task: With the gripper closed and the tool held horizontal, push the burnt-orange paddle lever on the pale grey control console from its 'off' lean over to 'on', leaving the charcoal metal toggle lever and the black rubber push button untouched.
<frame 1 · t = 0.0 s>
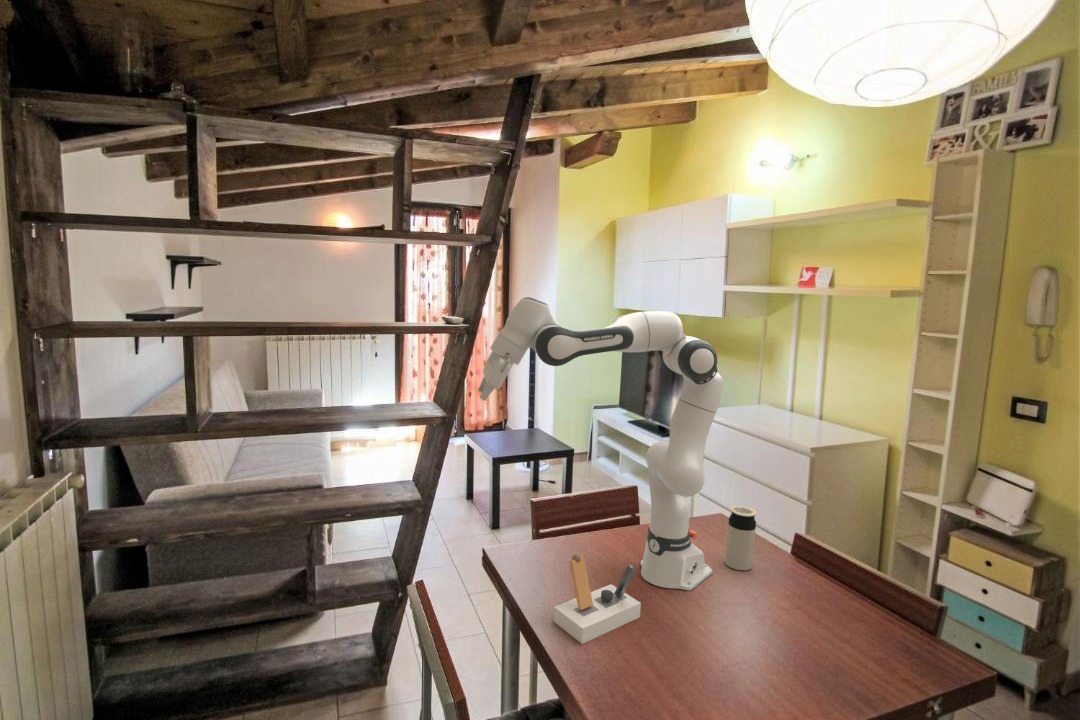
hand: (481, 395, 156), 54 cm above the table, tool tilted 30°, fingers open, 8 cm apart
push button: (606, 595, 150), point 6 cm above the table, slide at 0.0 cm
travel mug: (738, 565, 181), on the table
paddle lever: (580, 580, 147), point 11 cm above the table, hinge at -22.0°
toggle lever: (625, 580, 150), point 10 cm above the table, hinge at 22.0°
console: (597, 619, 149), on the table
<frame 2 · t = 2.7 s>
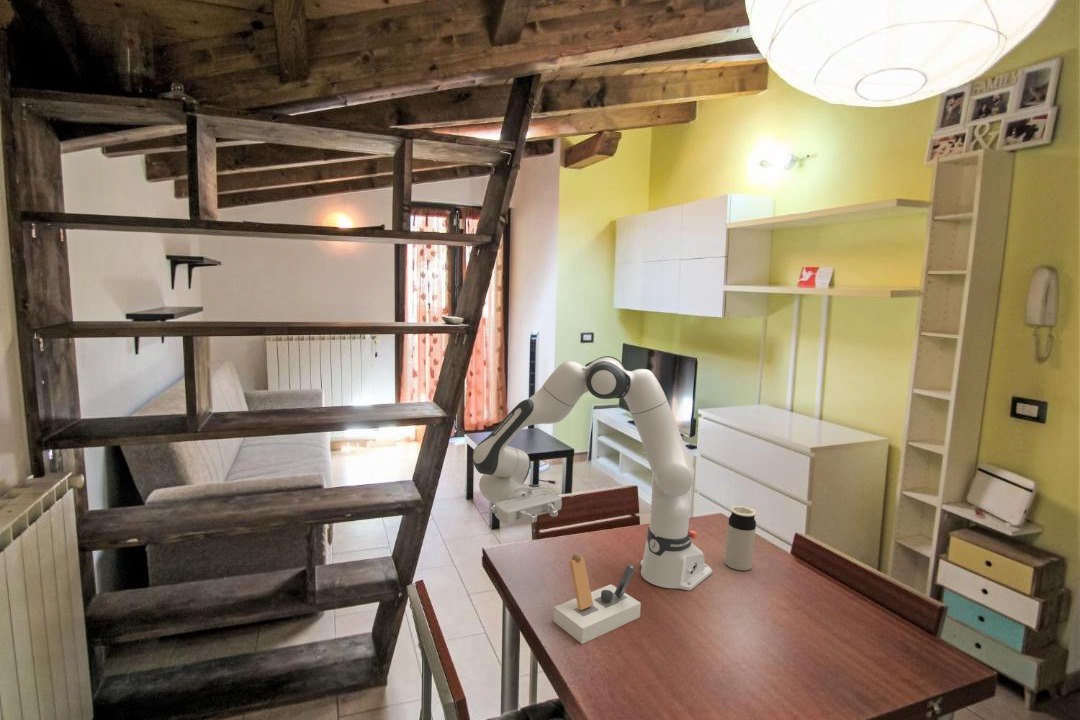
hand: (545, 516, 158), 22 cm above the table, tool horizontal, fingers open, 6 cm apart
nothing on the table moved.
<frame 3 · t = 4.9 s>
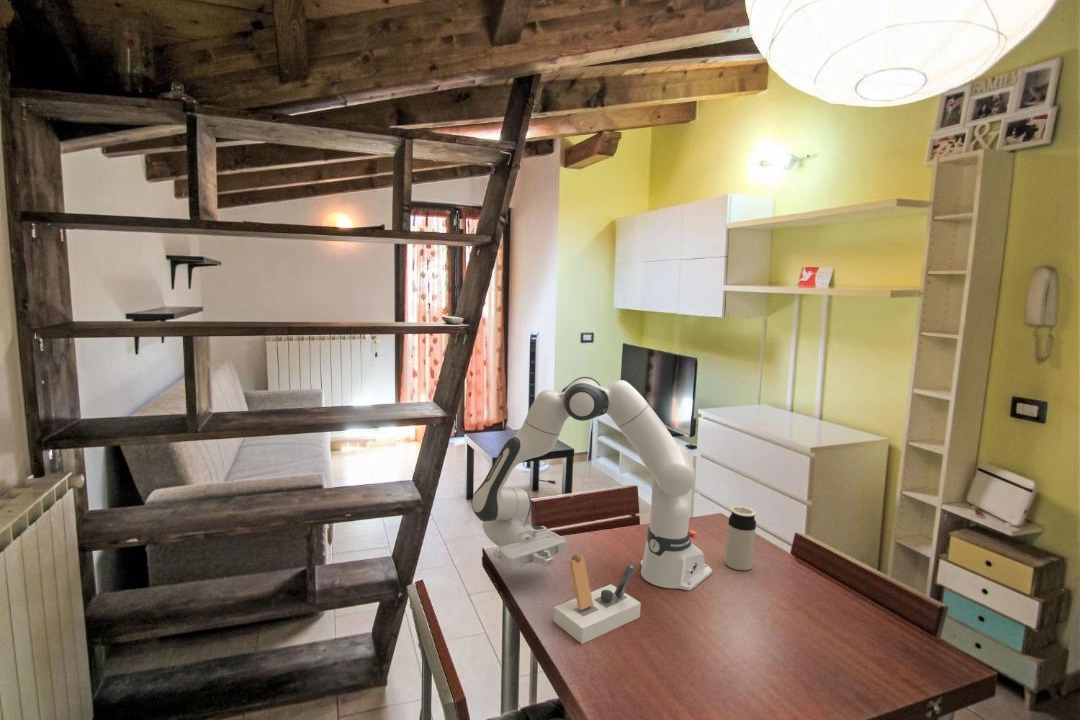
hand: (549, 562, 157), 10 cm above the table, tool horizontal, fingers closed
nothing on the table moved.
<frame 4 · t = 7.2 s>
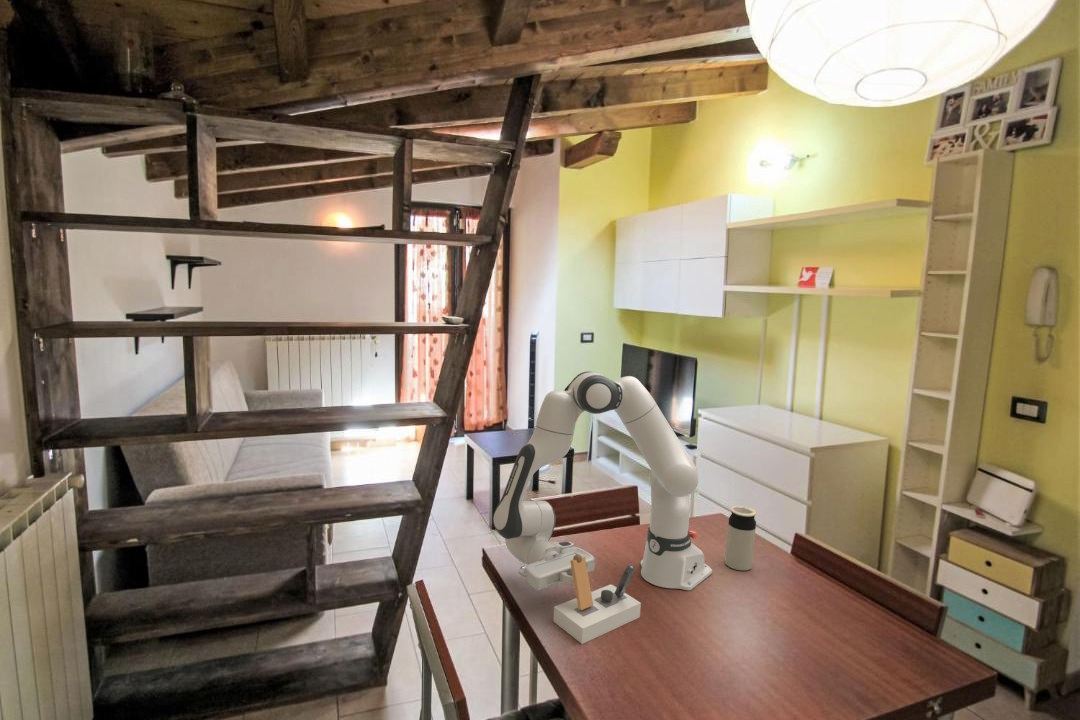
hand: (579, 582, 148), 10 cm above the table, tool horizontal, fingers closed, pressing on paddle lever
paddle lever: (581, 580, 147), point 11 cm above the table, hinge at -19.7°, touching gripper
everything else where it was.
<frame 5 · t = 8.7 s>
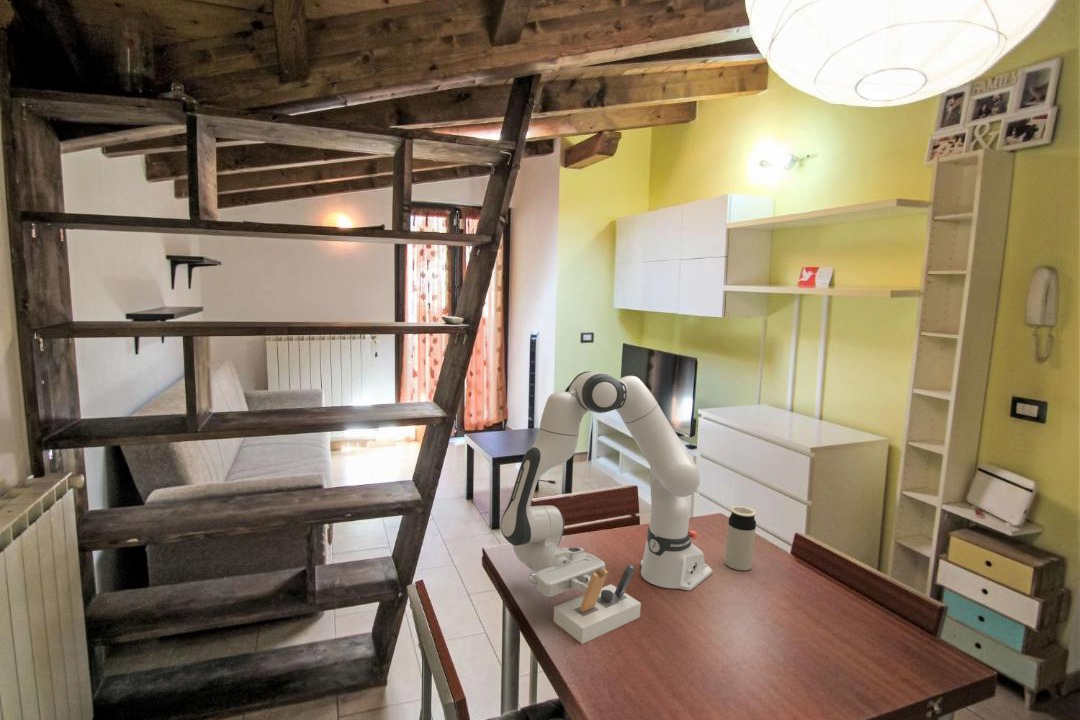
hand: (591, 588, 144), 10 cm above the table, tool horizontal, fingers closed, pressing on paddle lever
paddle lever: (594, 589, 143), point 11 cm above the table, hinge at 19.5°, touching gripper
everything else where it was.
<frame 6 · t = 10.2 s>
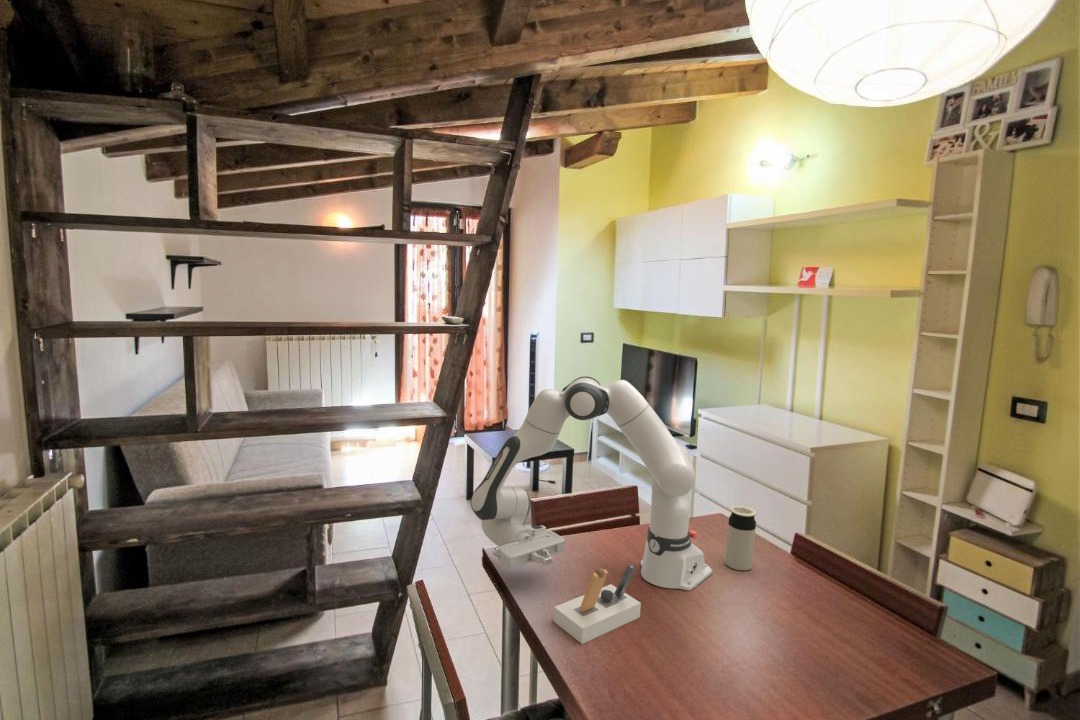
hand: (548, 561, 157), 10 cm above the table, tool horizontal, fingers closed
paddle lever: (594, 589, 143), point 11 cm above the table, hinge at 19.5°
everything else where it was.
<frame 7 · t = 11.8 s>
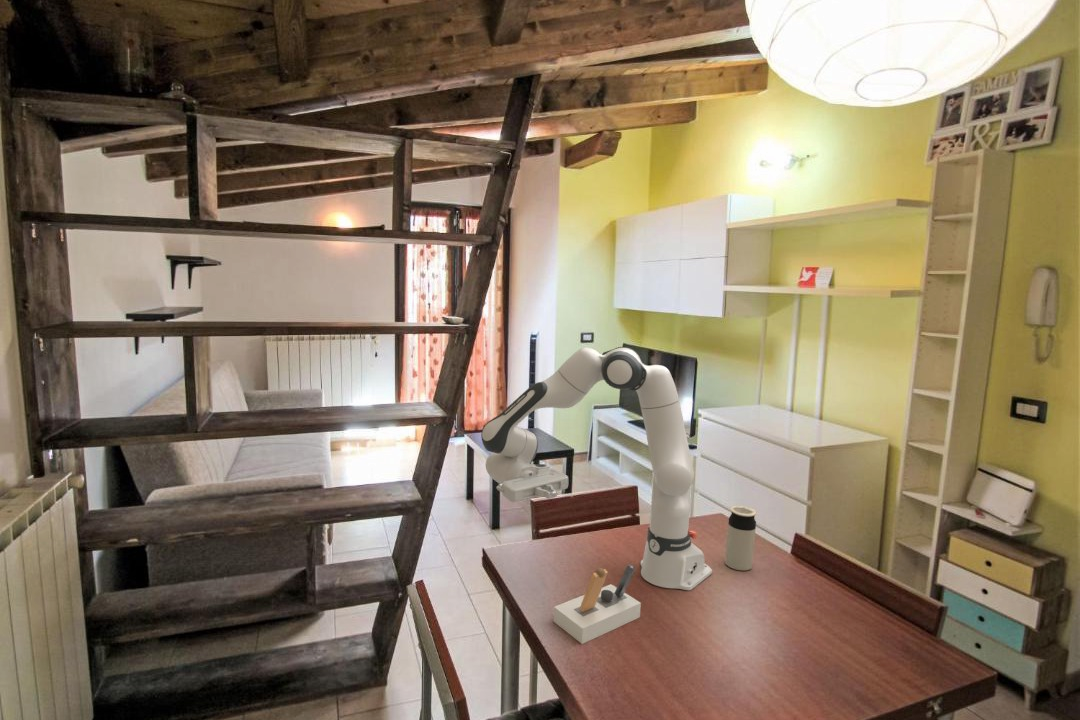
hand: (552, 495, 158), 28 cm above the table, tool horizontal, fingers closed
nothing on the table moved.
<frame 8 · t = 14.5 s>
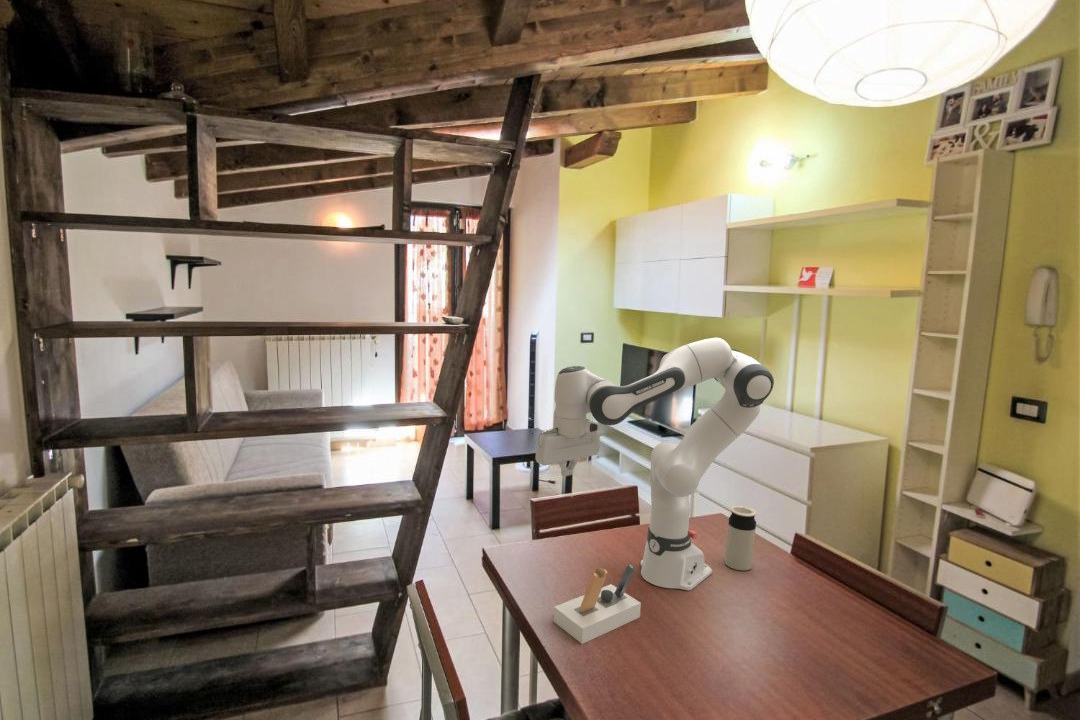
hand: (567, 475, 159), 33 cm above the table, tool pointing down, fingers closed
nothing on the table moved.
at the end: paddle lever at +20° (first picture: -22°); toggle lever at +22° (first picture: +22°); push button slide at 0.0 cm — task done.
